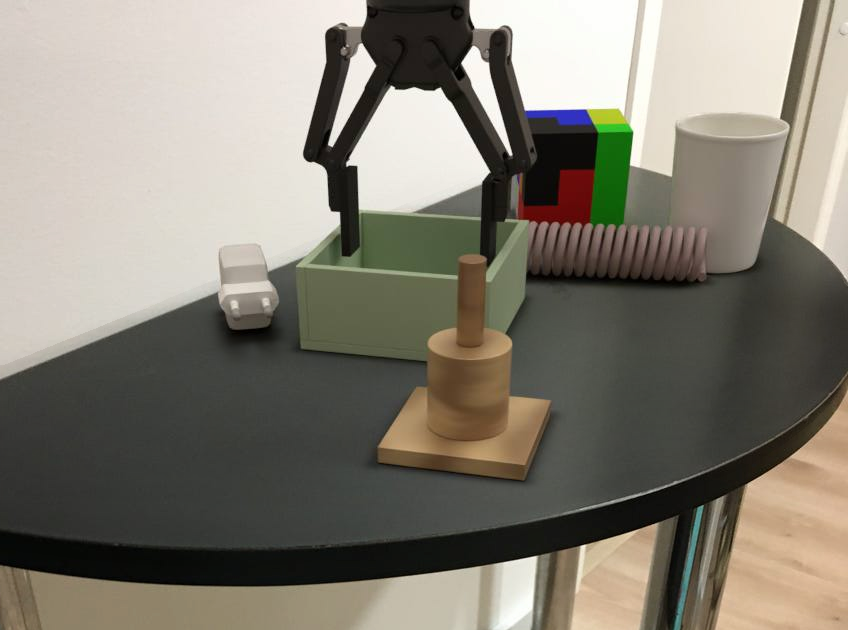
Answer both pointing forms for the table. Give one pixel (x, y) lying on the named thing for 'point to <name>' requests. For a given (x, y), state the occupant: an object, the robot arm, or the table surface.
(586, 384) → the table surface
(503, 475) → the stand
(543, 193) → the puzzle toy
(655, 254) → the coil
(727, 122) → the white cup
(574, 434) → the table surface
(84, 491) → the table surface
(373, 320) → the bin
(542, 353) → the table surface
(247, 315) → the power adapter
